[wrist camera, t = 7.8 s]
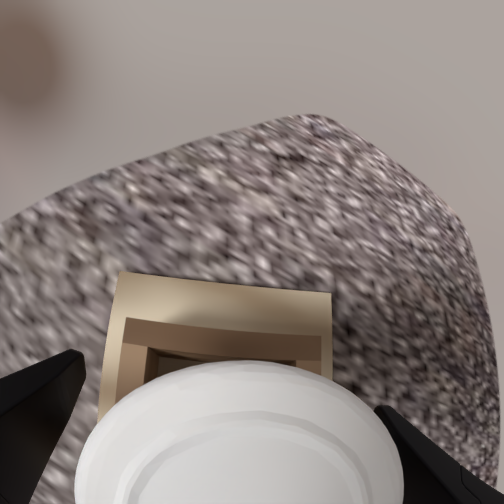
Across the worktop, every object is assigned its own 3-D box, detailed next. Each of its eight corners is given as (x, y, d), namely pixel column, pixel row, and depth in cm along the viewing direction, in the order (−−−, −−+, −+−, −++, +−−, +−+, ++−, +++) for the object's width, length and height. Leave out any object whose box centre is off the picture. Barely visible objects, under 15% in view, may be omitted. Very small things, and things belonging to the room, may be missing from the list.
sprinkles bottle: (210, 368, 16) (214, 278, 4) (277, 416, 15) (463, 451, 3) (158, 429, 14) (12, 510, 2) (226, 478, 13) (280, 653, 1)
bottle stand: (317, 533, 12) (344, 560, 8) (101, 518, 11) (76, 544, 7) (326, 297, 19) (354, 271, 16) (122, 276, 18) (103, 244, 14)
